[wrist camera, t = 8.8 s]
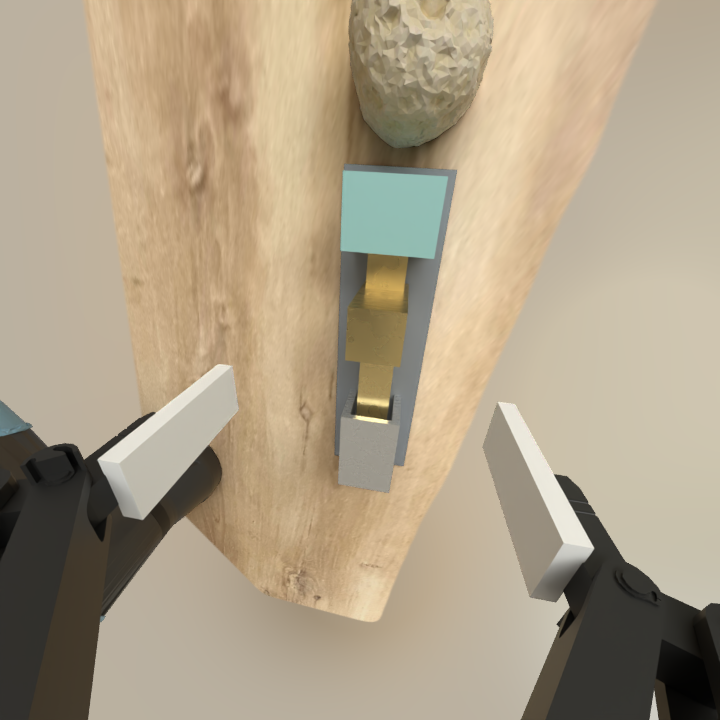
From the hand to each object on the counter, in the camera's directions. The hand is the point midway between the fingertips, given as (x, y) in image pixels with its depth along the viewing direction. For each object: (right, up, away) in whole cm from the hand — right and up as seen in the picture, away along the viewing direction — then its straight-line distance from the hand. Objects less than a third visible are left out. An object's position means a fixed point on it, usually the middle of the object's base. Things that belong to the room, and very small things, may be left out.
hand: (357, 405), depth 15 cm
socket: (+3, +15, +11) cm, 19 cm away
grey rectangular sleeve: (+2, -5, +21) cm, 22 cm away
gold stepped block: (+2, +6, +14) cm, 16 cm away
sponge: (+4, +23, +7) cm, 25 cm away
